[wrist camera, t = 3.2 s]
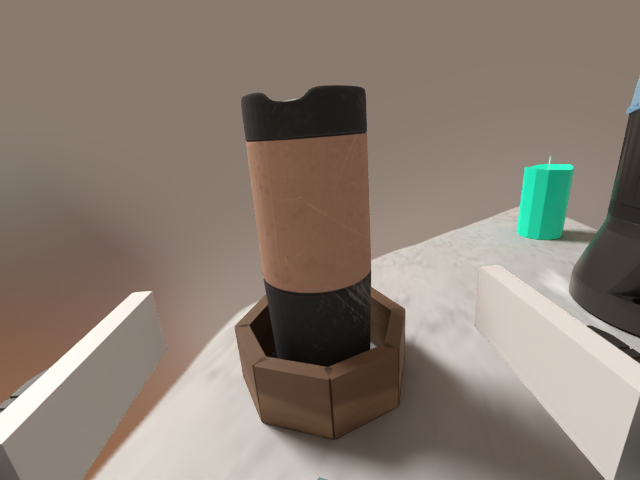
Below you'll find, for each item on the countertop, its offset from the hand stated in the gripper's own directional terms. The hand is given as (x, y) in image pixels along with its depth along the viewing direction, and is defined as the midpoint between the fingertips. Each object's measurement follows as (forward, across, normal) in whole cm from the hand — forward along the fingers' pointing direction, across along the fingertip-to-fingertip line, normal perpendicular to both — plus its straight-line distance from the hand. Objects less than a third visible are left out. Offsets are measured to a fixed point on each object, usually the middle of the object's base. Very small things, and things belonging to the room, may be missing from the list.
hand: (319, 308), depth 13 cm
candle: (+36, +35, -11) cm, 52 cm away
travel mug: (+10, 0, -11) cm, 15 cm away
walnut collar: (+10, 0, -11) cm, 15 cm away
